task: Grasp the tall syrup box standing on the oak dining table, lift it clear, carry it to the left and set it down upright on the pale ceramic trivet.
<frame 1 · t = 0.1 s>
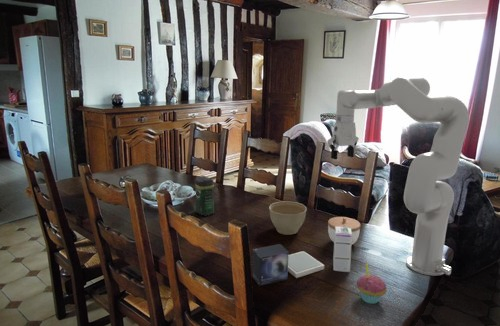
hand: (342, 157, 156), 31 cm above the table, fingers open, 9 cm apart
coffee jar: (205, 213, 175), on the table
cupcake: (370, 299, 107), on the table
lidded bowl: (342, 243, 143), on the table
trivet: (300, 265, 125), on the table
small box: (269, 279, 117), on the table
planter bowl: (286, 231, 155), on the table
syrup box: (340, 268, 124), on the table
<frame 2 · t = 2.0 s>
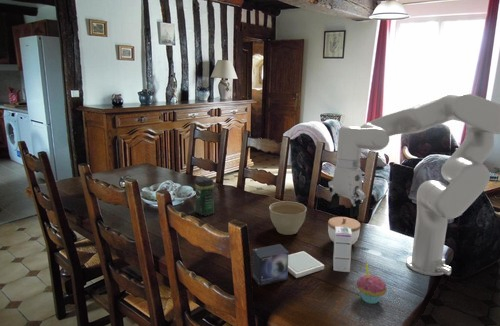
hand: (344, 211, 121), 21 cm above the table, fingers open, 9 cm apart
nothing on the table moved.
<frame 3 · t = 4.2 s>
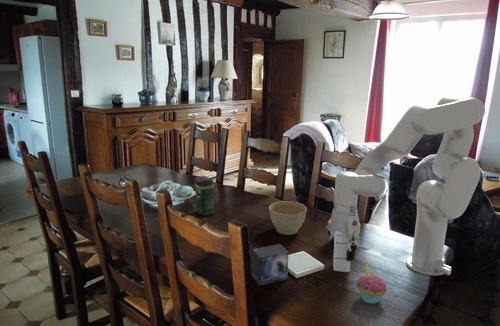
hand: (341, 254, 123), 5 cm above the table, fingers closed on syrup box, 7 cm apart
syrup box: (340, 268, 124), on the table, touching gripper
everything else where it was.
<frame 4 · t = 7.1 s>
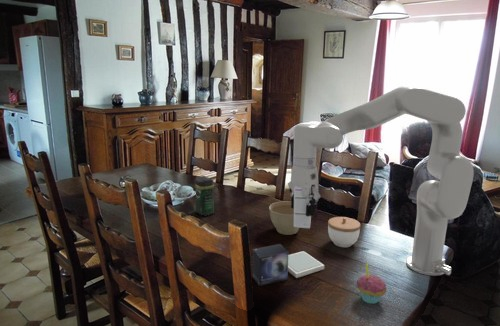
hand: (302, 211, 121), 21 cm above the table, fingers closed on syrup box, 7 cm apart
syrup box: (301, 225, 122), point 16 cm above the table, touching gripper
everything else where it was.
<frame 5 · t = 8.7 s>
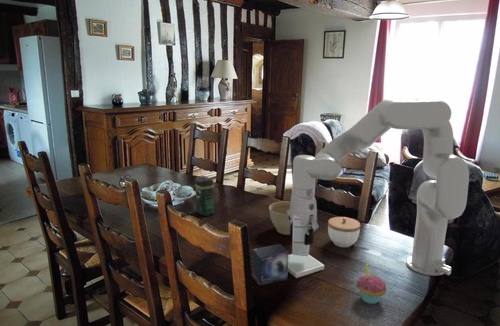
hand: (301, 239, 123), 10 cm above the table, fingers closed on syrup box, 7 cm apart
syrup box: (300, 252, 124), point 5 cm above the table, touching gripper
everything else where it was.
when the fingers open (7 cm above the table, at t = 10.0 s): syrup box stays where it is, resting on trivet.
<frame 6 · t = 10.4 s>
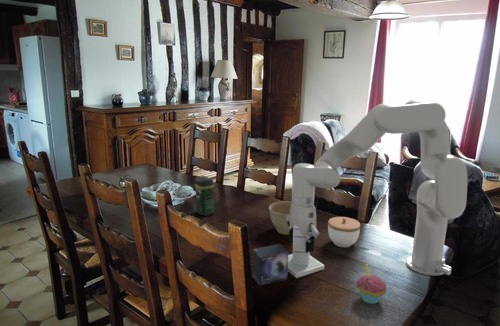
hand: (300, 245, 124), 8 cm above the table, fingers open, 9 cm apart
syrup box: (300, 261, 125), point 1 cm above the table, touching trivet
everything else where it was.
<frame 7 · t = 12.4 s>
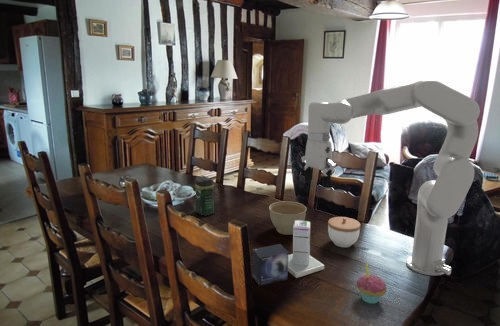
hand: (317, 183, 128), 28 cm above the table, fingers open, 9 cm apart
nothing on the table moved.
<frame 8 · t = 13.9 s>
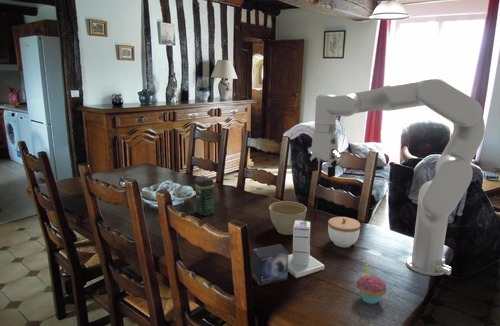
hand: (322, 173, 132), 30 cm above the table, fingers open, 9 cm apart
nothing on the table moved.
at the end: syrup box inside the target area on the trivet (0.2 cm from its centre), point 1.4 cm above the trivet's base; syrup box tilted 0°; the gripper is holding nothing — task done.
